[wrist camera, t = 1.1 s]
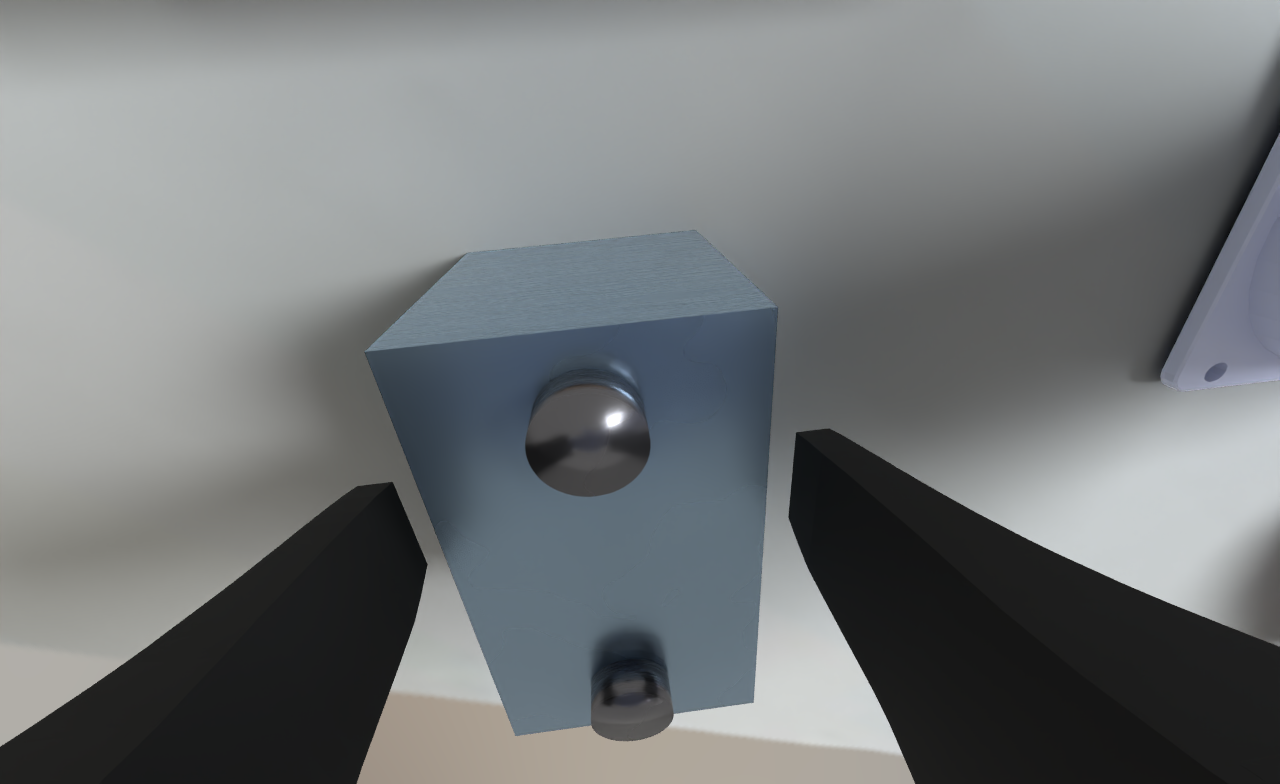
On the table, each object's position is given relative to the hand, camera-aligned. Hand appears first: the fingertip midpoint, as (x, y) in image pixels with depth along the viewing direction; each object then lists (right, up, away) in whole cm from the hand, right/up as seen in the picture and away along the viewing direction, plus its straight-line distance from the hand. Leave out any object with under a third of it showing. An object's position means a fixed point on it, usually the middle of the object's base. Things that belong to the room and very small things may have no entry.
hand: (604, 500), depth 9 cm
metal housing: (0, +2, +3) cm, 3 cm away
